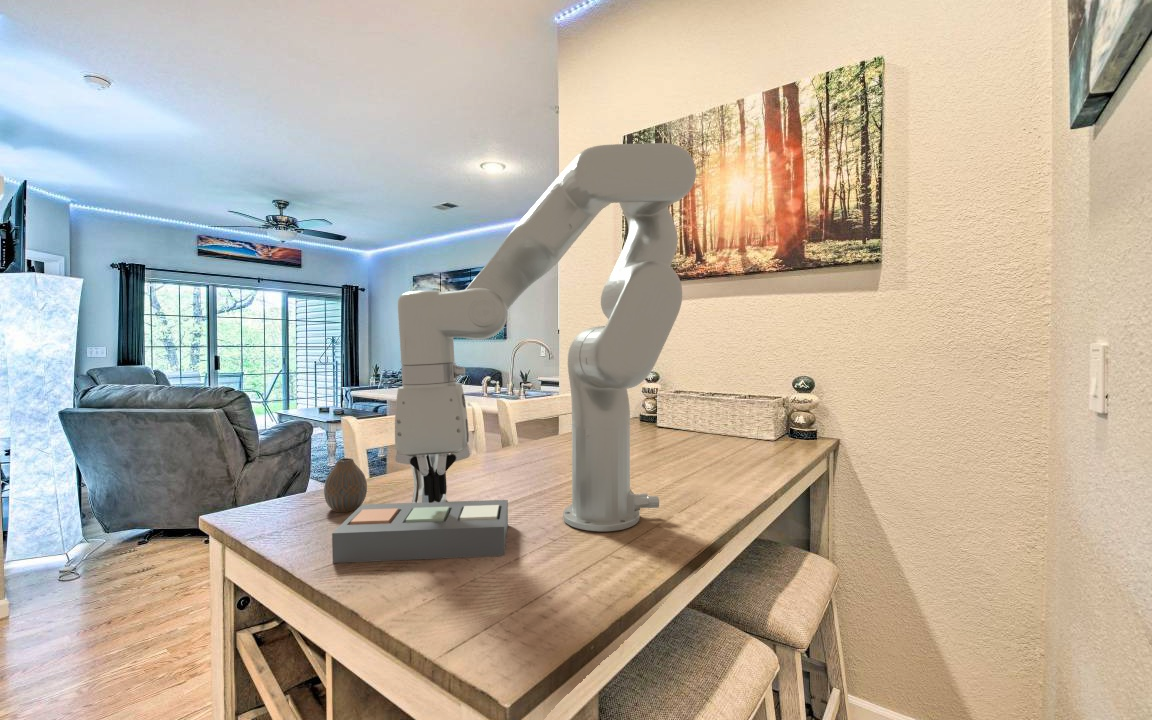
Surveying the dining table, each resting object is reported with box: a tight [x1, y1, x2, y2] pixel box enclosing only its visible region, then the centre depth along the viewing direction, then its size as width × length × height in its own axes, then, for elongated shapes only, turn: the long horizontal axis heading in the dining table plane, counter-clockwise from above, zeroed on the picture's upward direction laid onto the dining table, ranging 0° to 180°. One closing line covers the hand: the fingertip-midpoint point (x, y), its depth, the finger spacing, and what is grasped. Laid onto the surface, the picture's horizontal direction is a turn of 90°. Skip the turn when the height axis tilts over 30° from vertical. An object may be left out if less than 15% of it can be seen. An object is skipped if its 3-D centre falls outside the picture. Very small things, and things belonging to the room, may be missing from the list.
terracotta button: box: [350, 508, 398, 525], centre depth 74 cm, size 5×5×4 cm
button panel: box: [331, 499, 509, 564], centre depth 74 cm, size 23×12×4 cm, turn 95°
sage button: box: [406, 507, 449, 523], centre depth 74 cm, size 5×5×4 cm
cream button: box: [460, 505, 499, 521], centre depth 75 cm, size 5×5×4 cm
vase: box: [323, 457, 368, 513], centre depth 90 cm, size 7×7×9 cm
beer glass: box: [410, 454, 448, 503], centre depth 93 cm, size 7×7×15 cm
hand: (436, 499), depth 75 cm, fingers closed
